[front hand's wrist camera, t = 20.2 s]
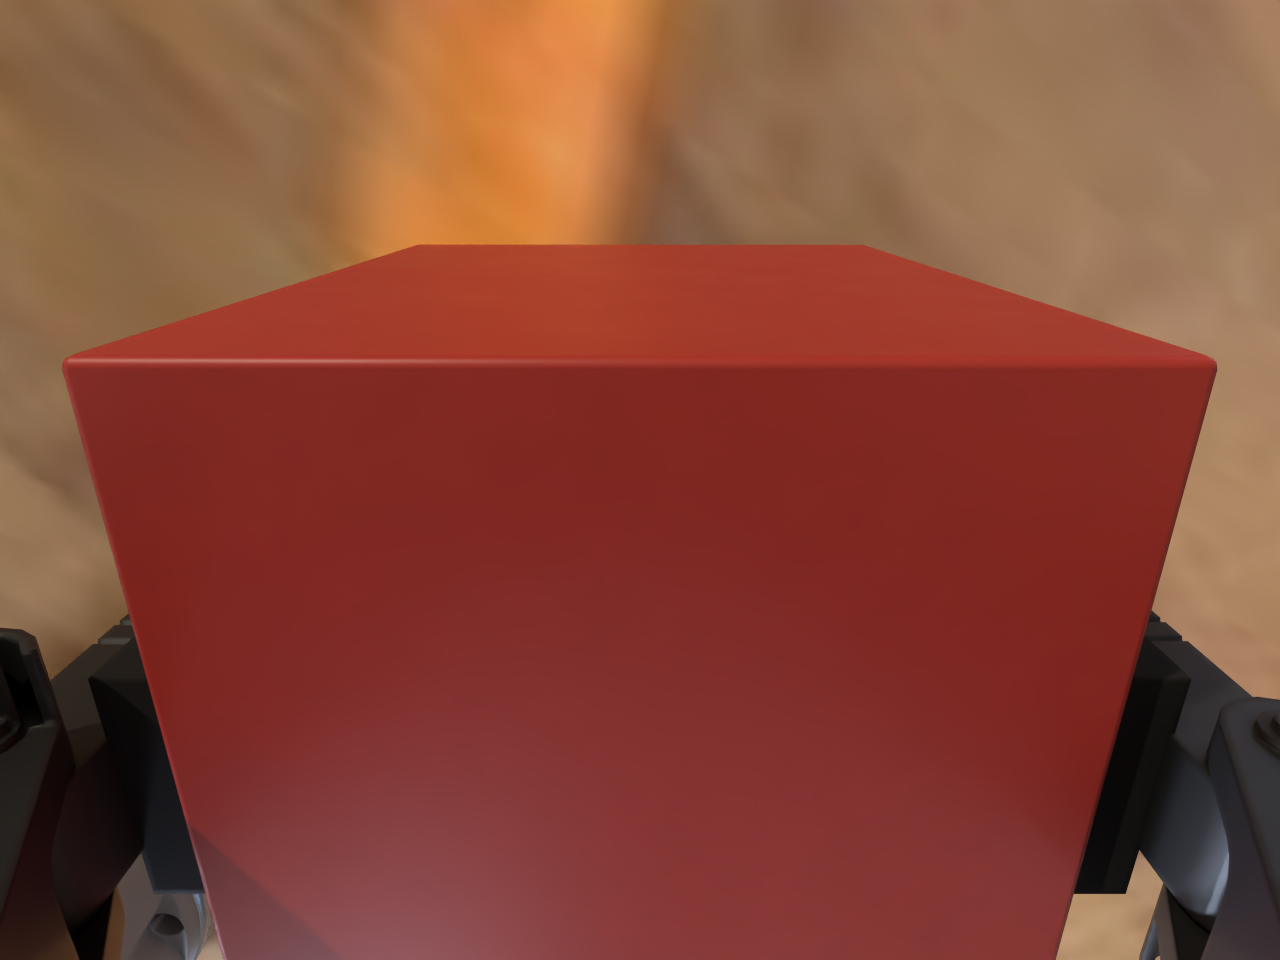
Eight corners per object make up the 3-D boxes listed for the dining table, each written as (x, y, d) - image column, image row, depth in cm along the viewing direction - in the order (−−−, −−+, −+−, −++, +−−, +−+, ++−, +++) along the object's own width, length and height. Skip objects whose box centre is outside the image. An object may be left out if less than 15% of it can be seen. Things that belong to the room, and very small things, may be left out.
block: (866, 244, 15) (1227, 357, 6) (826, 638, 18) (1016, 1117, 9) (414, 244, 15) (51, 356, 6) (453, 638, 18) (262, 1115, 9)
